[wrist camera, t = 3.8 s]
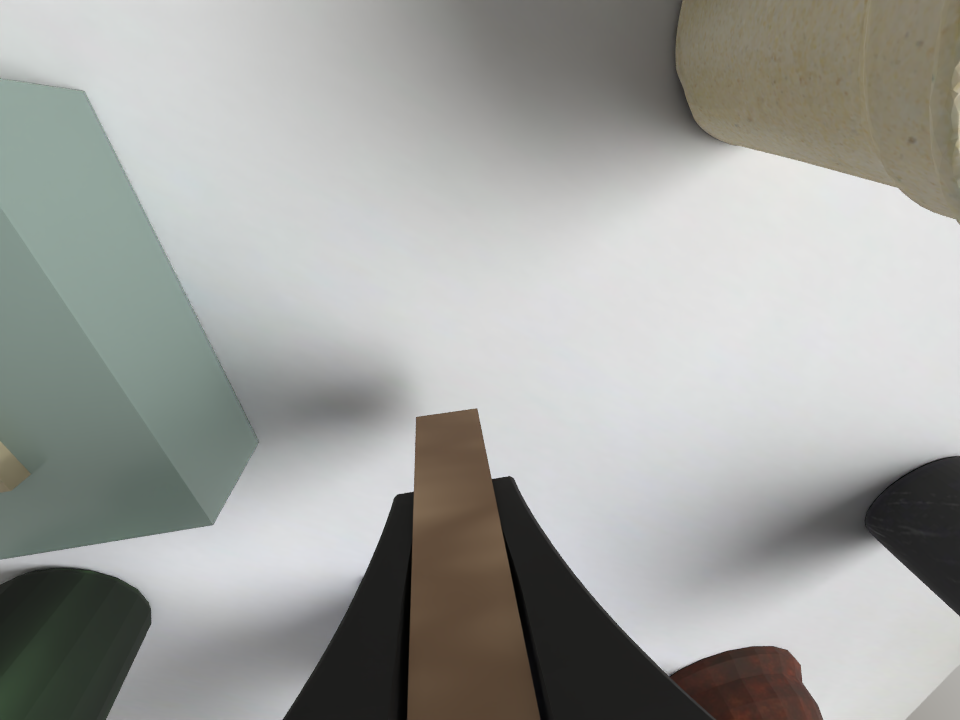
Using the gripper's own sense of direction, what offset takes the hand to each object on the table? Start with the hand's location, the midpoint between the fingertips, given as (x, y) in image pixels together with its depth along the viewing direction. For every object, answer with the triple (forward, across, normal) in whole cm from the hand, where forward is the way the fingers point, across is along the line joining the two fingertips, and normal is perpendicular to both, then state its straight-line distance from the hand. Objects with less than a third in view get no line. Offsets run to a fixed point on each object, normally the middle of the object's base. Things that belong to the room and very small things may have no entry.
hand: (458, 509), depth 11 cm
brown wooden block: (+3, 0, 0) cm, 3 cm away
